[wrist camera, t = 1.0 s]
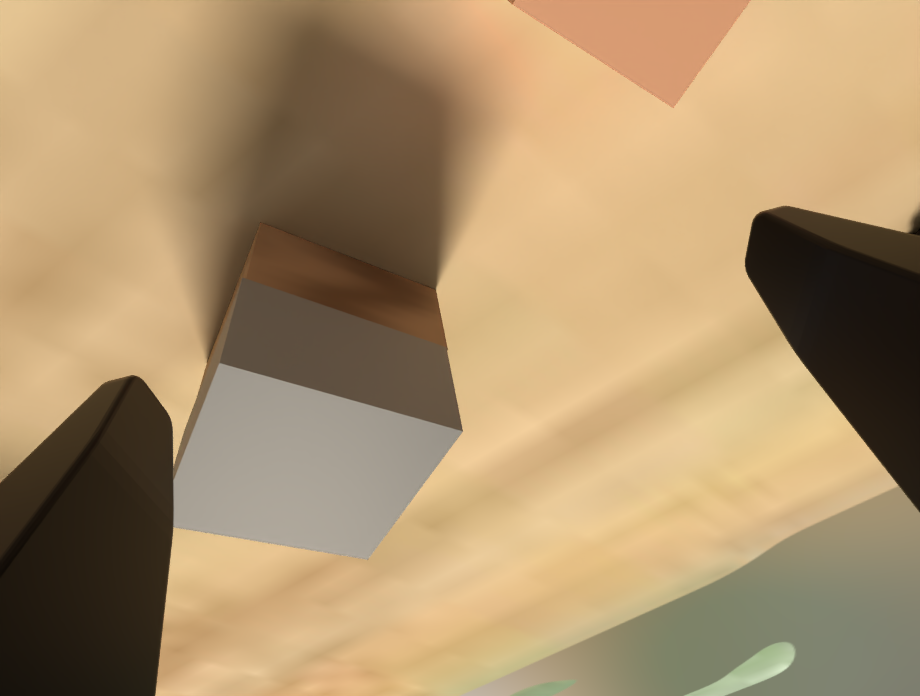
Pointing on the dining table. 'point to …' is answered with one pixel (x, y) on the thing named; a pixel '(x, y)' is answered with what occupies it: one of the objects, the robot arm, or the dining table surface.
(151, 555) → the robot arm
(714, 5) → the terracotta cube
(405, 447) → the tower top
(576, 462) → the dining table surface
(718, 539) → the dining table surface
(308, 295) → the tower base
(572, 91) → the dining table surface
